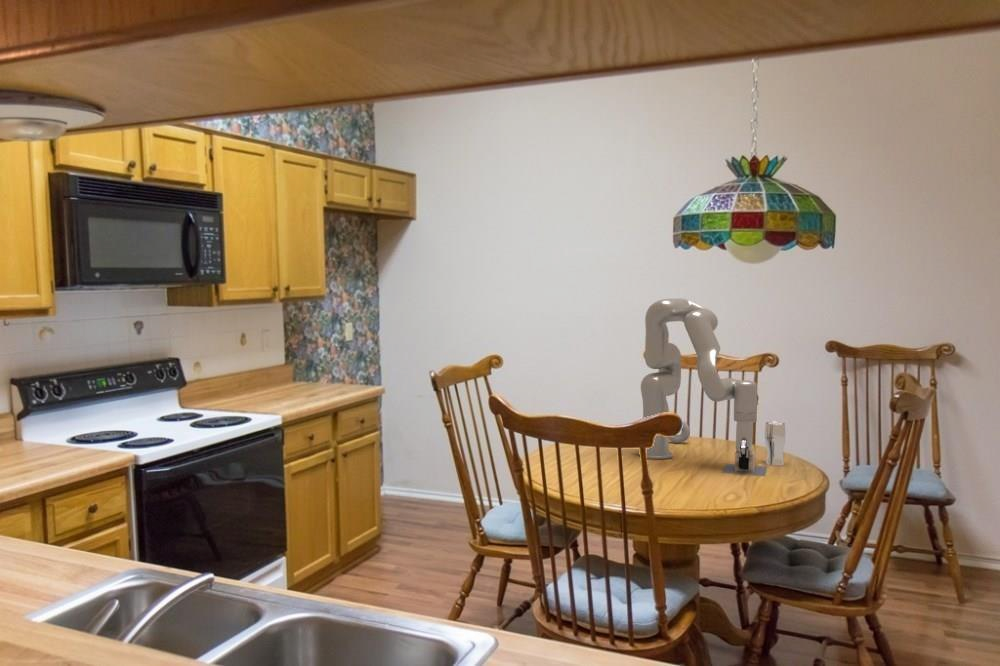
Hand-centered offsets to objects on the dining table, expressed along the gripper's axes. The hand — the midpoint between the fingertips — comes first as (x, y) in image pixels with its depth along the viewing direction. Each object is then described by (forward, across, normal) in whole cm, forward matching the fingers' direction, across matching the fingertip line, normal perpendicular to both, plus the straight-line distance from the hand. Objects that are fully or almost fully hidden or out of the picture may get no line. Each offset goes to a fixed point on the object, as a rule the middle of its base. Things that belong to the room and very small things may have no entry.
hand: (744, 465), depth 259 cm
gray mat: (+2, 0, 0) cm, 2 cm away
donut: (+2, -39, -29) cm, 49 cm away
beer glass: (+2, -13, +9) cm, 16 cm away
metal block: (+1, 0, 0) cm, 1 cm away
